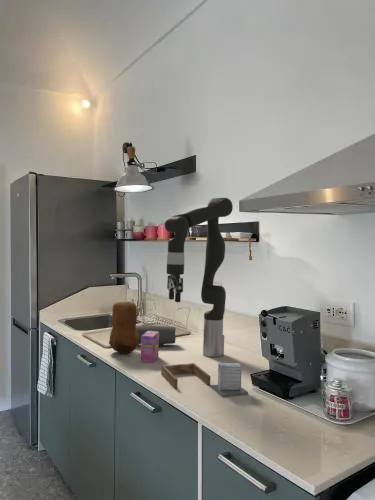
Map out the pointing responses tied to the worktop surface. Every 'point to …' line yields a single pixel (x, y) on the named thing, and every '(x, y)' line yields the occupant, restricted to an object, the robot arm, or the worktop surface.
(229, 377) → the medicine box
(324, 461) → the worktop surface
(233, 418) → the worktop surface
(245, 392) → the coaster
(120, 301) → the butternut squash
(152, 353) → the box
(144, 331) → the bluetooth speaker
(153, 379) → the worktop surface
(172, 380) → the u-shaped wooden frame
